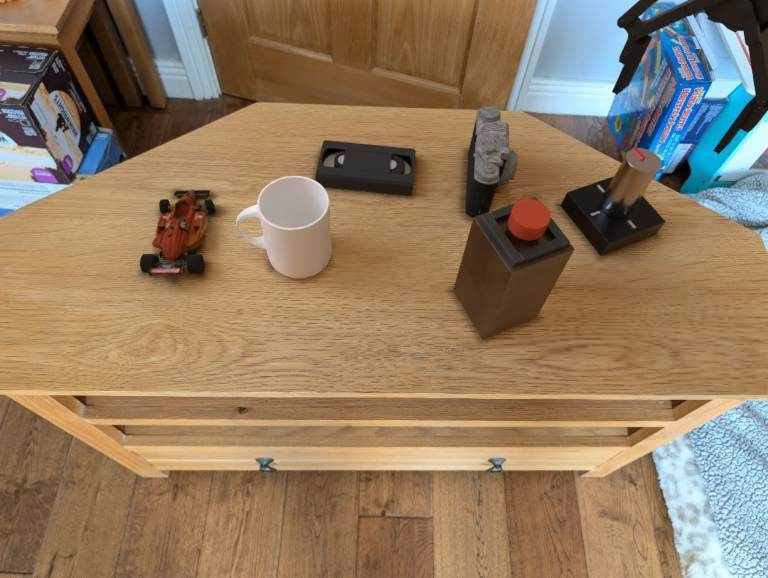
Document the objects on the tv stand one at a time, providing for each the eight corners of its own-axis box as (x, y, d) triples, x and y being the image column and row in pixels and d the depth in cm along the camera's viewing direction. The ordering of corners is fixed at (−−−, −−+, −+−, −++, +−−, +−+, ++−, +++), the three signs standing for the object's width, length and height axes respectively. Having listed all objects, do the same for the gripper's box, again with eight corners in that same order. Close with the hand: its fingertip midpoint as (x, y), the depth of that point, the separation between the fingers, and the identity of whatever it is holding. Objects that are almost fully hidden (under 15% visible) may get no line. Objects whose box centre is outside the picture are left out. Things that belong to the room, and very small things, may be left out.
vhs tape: (414, 158, 87) (415, 148, 85) (411, 196, 82) (412, 186, 81) (323, 149, 87) (323, 139, 85) (316, 186, 83) (315, 177, 81)
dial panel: (656, 234, 81) (666, 220, 78) (600, 256, 78) (609, 242, 75) (614, 187, 85) (622, 172, 83) (560, 205, 83) (567, 191, 80)
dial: (637, 212, 79) (669, 164, 71) (612, 221, 78) (642, 174, 70) (618, 191, 81) (647, 142, 73) (594, 199, 80) (620, 151, 72)
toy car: (221, 193, 81) (215, 171, 77) (201, 288, 72) (193, 269, 68) (167, 191, 81) (158, 170, 77) (140, 287, 72) (129, 267, 68)
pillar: (536, 318, 72) (577, 244, 59) (482, 340, 70) (513, 268, 57) (504, 271, 76) (536, 191, 63) (452, 290, 74) (474, 212, 60)
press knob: (552, 233, 59) (558, 221, 57) (520, 245, 58) (525, 233, 56) (532, 207, 61) (537, 194, 59) (500, 217, 60) (504, 205, 58)
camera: (509, 223, 80) (527, 174, 72) (463, 218, 81) (475, 168, 72) (508, 152, 88) (525, 100, 80) (466, 147, 89) (478, 95, 80)
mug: (248, 226, 78) (235, 172, 69) (334, 231, 78) (332, 177, 69) (238, 277, 73) (221, 226, 64) (329, 282, 74) (325, 231, 65)
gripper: (951, -35, 45) (782, 157, 63) (679, -140, 54) (598, 54, 72) (922, -2, 42) (753, 190, 60) (638, -119, 51) (565, 79, 69)
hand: (668, 117), depth 66 cm, fingers open, 13 cm apart
